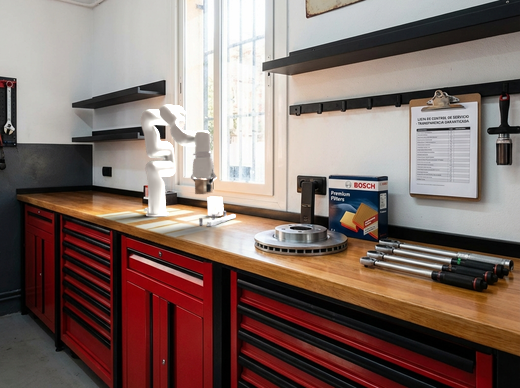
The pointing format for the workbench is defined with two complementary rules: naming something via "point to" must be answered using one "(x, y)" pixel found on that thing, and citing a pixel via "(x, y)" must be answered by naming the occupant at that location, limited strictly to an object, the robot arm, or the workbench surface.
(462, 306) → the workbench surface
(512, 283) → the workbench surface
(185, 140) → the robot arm
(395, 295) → the workbench surface
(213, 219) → the screw pegs
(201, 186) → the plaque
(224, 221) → the cleat rail
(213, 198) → the mug
